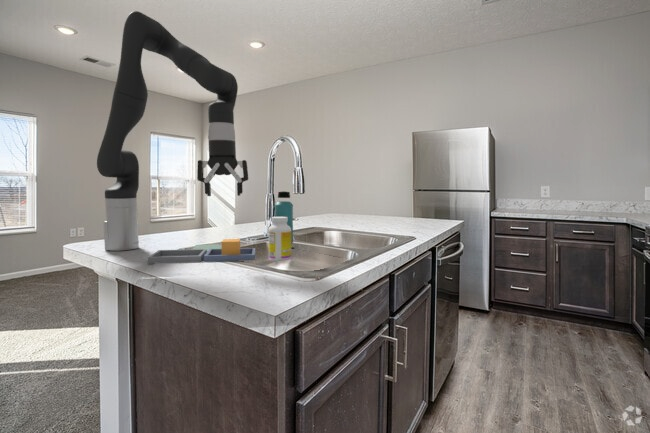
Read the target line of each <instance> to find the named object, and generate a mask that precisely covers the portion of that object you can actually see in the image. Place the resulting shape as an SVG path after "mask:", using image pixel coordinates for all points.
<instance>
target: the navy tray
mask: <svg viewBox="0 0 650 433" xmlns="http://www.w3.org/2000/svg"><path fill="white" fill-rule="evenodd" d="M255 257H256V247H243V248H242V247H240V255H222V249H209V250H208V252H207V253H206V254H205V255H204V258H203V262H228V261H229V262H230V261H231V262H232V261H233V262H234V261H236V262H237V261H255V260H256V258H255Z"/></svg>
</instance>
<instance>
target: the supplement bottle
mask: <svg viewBox="0 0 650 433" xmlns="http://www.w3.org/2000/svg"><path fill="white" fill-rule="evenodd" d="M287 221H288V217H274V216H272V217H271V222H272V224H271V225H270V226H269V227H268V259H269V261H274V262H275V261H277V262H283V261H289V260H292V246H291V228H290V226H288V225H287Z"/></svg>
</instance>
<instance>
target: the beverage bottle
mask: <svg viewBox="0 0 650 433" xmlns="http://www.w3.org/2000/svg"><path fill="white" fill-rule="evenodd" d="M290 193H291V192H290V191H278V192H277V198H278V199H279V198H280V199H291V194H290ZM293 207H294V204H293V203H292V202H291V201H285V200H284V201H282V200H281V201H276V203H274V216H273V217H288V221H287V225H288V226H290V228H291V247H292V246H293V245H294V225H293V224H294V222H293V221H294V208H293Z"/></svg>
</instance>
